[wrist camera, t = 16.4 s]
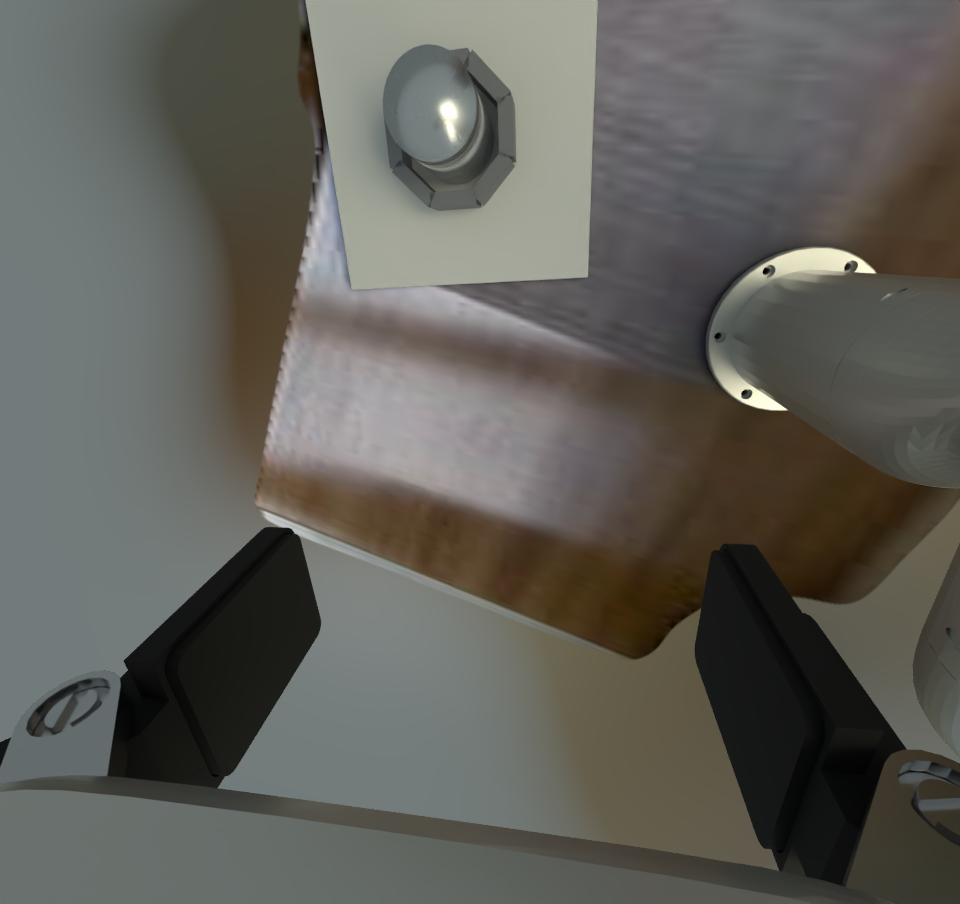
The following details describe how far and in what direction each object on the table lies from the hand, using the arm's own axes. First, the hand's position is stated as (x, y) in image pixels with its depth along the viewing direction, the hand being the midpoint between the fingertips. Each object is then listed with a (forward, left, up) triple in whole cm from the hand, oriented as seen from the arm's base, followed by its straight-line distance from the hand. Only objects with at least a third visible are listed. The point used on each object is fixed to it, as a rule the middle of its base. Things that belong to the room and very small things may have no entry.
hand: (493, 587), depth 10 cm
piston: (+6, -15, -31) cm, 35 cm away
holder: (+6, -15, -32) cm, 36 cm away
